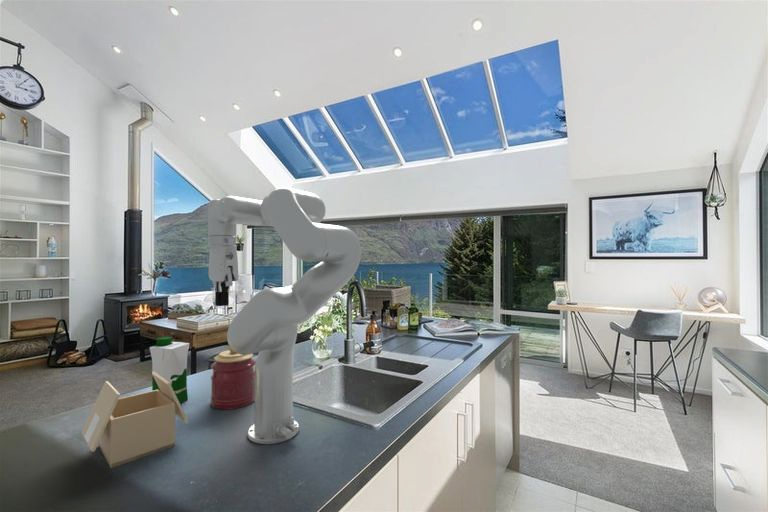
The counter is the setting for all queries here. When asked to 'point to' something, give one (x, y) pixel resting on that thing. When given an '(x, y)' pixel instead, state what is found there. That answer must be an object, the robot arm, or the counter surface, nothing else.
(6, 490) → the counter surface
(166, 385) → the panel
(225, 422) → the counter surface
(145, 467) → the counter surface
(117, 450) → the parcel
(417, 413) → the counter surface
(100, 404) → the outer flap
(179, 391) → the milk carton
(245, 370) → the canister
